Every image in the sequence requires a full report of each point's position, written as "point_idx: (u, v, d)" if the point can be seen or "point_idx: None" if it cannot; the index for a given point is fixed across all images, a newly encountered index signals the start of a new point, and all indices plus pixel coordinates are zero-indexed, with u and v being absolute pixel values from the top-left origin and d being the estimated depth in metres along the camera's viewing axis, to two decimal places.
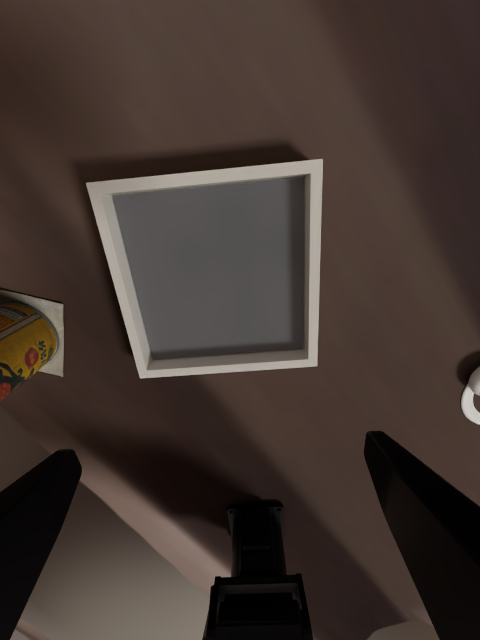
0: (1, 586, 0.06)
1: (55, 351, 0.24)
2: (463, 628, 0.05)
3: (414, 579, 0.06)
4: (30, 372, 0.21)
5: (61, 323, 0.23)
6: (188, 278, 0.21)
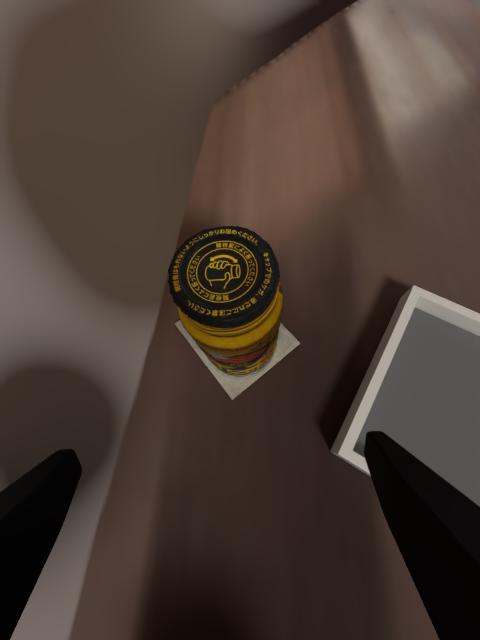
0: (1, 586, 0.06)
1: (253, 372, 0.22)
2: (463, 628, 0.05)
3: (414, 579, 0.06)
4: (253, 365, 0.19)
5: (283, 355, 0.23)
6: (439, 395, 0.20)
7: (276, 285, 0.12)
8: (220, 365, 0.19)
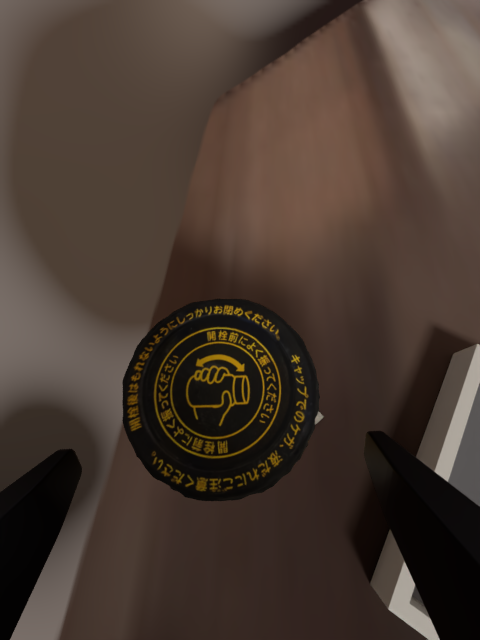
0: (1, 586, 0.06)
1: None
2: (463, 628, 0.05)
3: (414, 579, 0.06)
4: None
5: None
6: None
7: (315, 417, 0.07)
8: None
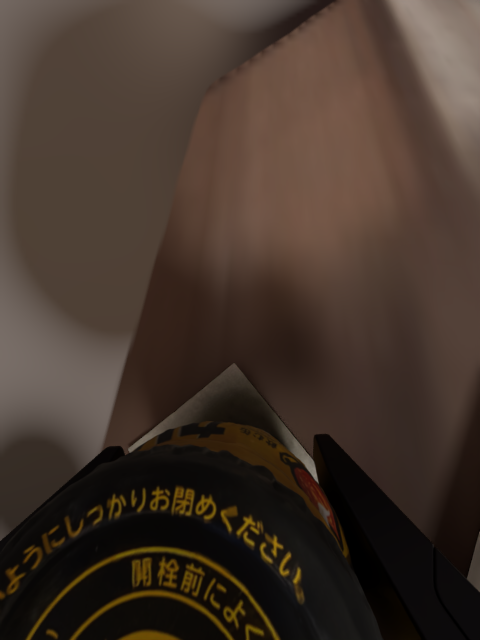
0: None
1: None
2: None
3: None
4: None
5: None
6: None
7: None
8: None
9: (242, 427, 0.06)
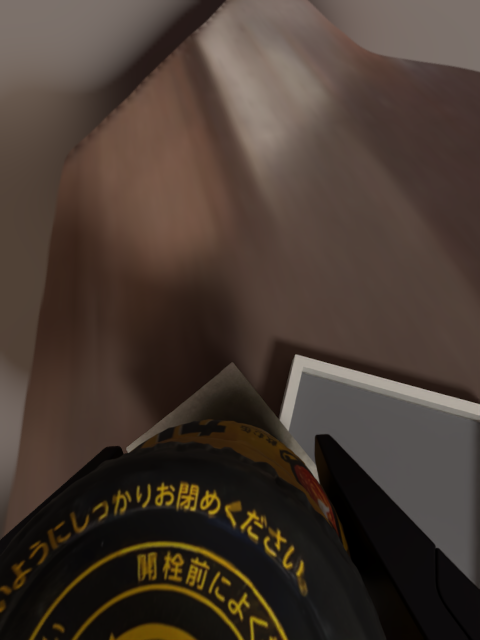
0: None
1: None
2: None
3: None
4: None
5: None
6: None
7: None
8: None
9: (242, 425, 0.06)
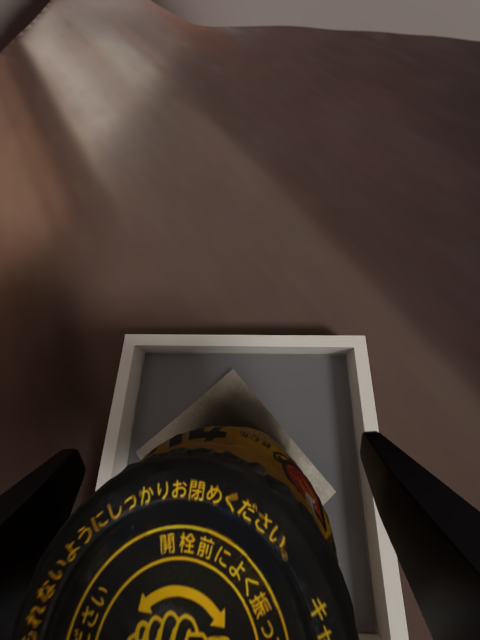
0: (6, 586, 0.06)
1: None
2: (456, 628, 0.05)
3: (408, 579, 0.06)
4: None
5: None
6: None
7: None
8: None
9: (241, 431, 0.08)
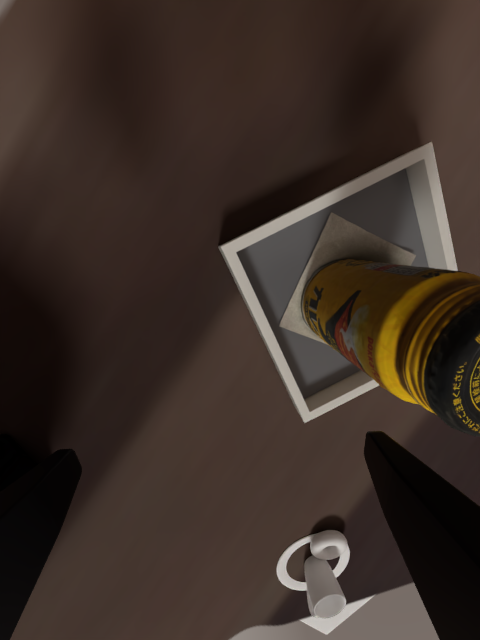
0: (1, 586, 0.06)
1: (314, 331, 0.20)
2: (463, 628, 0.05)
3: (414, 579, 0.06)
4: (334, 348, 0.17)
5: None
6: None
7: None
8: (321, 319, 0.16)
9: None
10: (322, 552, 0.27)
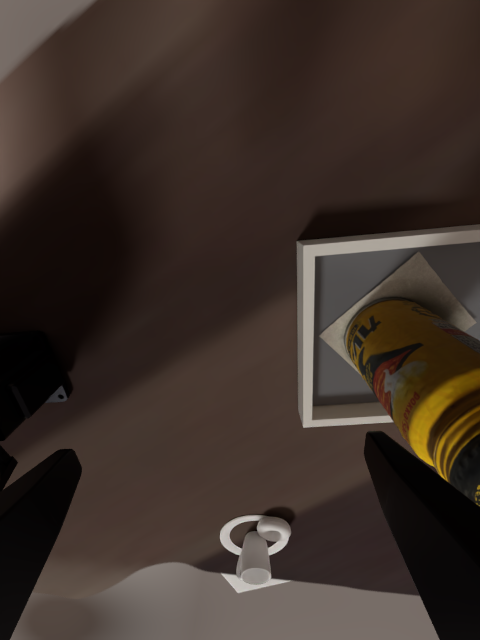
0: (1, 586, 0.06)
1: (348, 353, 0.21)
2: (463, 628, 0.05)
3: (414, 579, 0.06)
4: (364, 379, 0.18)
5: None
6: None
7: None
8: (367, 350, 0.17)
9: None
10: (266, 533, 0.30)
